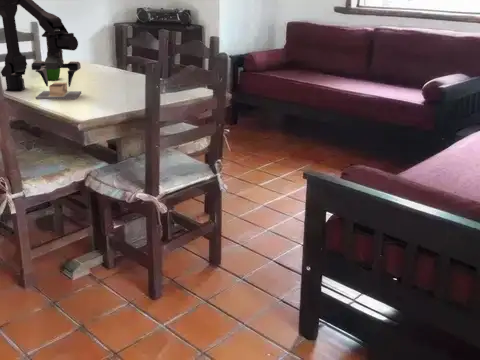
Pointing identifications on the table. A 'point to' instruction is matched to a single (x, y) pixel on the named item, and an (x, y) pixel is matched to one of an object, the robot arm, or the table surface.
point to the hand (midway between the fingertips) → (58, 86)
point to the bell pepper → (53, 74)
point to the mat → (66, 96)
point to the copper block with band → (58, 89)
